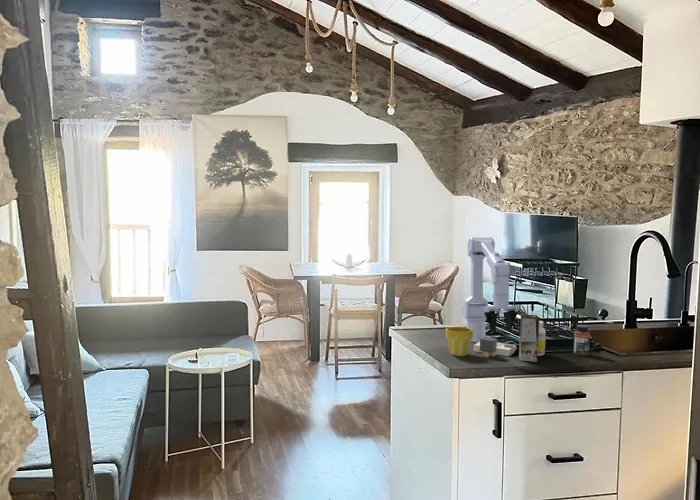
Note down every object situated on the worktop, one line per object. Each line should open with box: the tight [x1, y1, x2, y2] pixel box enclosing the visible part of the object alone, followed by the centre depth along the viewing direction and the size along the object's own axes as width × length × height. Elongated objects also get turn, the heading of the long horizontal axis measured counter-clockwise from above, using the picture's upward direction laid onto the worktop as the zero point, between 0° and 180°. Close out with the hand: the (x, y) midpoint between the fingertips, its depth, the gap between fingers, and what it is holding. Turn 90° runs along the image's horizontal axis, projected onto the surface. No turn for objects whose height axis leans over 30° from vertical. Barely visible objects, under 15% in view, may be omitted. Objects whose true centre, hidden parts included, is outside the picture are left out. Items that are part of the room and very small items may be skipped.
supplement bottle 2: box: [572, 324, 591, 357], centre depth 260 cm, size 6×6×11 cm
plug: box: [480, 336, 498, 358], centre depth 254 cm, size 4×5×6 cm
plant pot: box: [445, 326, 473, 357], centre depth 255 cm, size 10×10×10 cm
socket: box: [473, 341, 517, 357], centre depth 262 cm, size 10×14×3 cm
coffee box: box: [518, 314, 540, 363], centre depth 251 cm, size 9×6×16 cm
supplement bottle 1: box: [537, 320, 547, 357], centre depth 258 cm, size 7×7×13 cm
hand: (500, 330), depth 250 cm, fingers open, 7 cm apart
